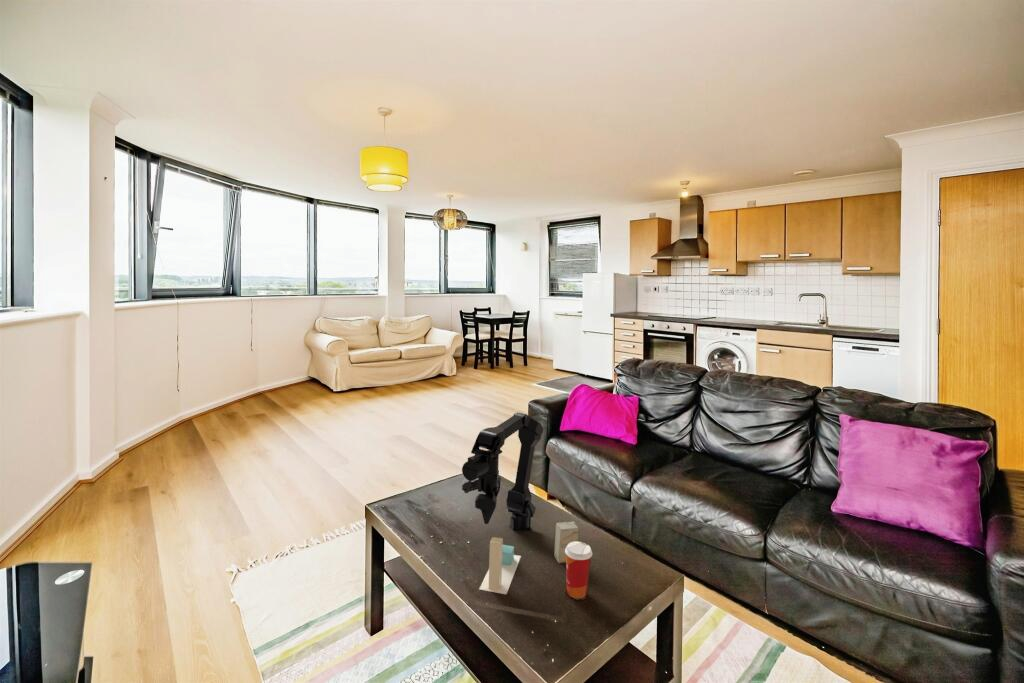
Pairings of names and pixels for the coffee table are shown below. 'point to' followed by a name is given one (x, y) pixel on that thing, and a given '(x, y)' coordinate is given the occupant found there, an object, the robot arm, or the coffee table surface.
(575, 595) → the paper cup
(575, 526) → the skincare box
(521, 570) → the coffee table surface
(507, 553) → the teal block
